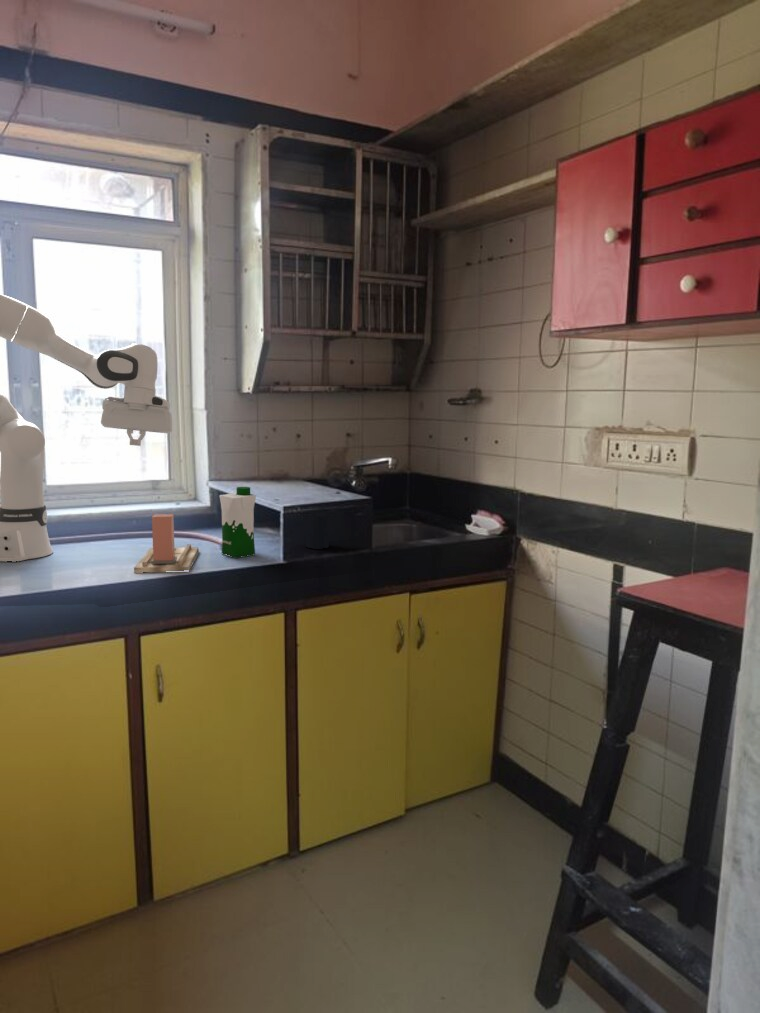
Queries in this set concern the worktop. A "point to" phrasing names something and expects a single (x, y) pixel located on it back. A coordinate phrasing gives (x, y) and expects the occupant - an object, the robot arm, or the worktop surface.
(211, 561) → the worktop surface
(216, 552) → the worktop surface
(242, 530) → the milk carton
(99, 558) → the worktop surface
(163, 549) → the salmon orange rectangular block
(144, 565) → the tan flat ridged board
